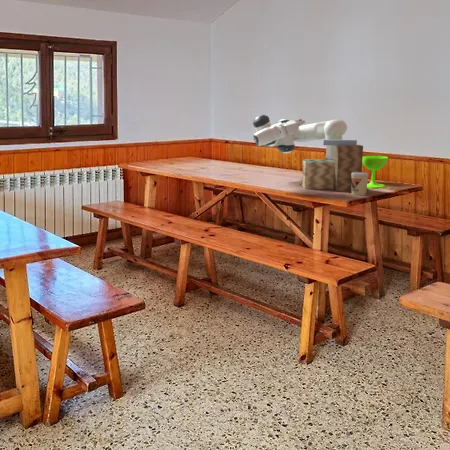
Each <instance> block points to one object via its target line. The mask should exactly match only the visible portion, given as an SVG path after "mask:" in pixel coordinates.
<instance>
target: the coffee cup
mask: <svg viewBox="0 0 450 450" xmlns="http://www.w3.org/2000/svg"><path fill="white" fill-rule="evenodd" d="M351 175H352V176H351V182H352V191H351V195H352V194H353V196H366V195H367V191H368V188H367V183H368V182H369V181H368V180H369V173H368V172H364V171H362V172H352V174H351Z"/></svg>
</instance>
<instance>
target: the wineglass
mask: <svg viewBox="0 0 450 450" xmlns="http://www.w3.org/2000/svg"><path fill="white" fill-rule="evenodd" d="M388 161H389V157H388V156H384V155H363V159H362V166H364V167H365V168H366V169H367V170H370V171H371V181H370V182H369V183H368V182H367V189H370V188H371V190H376V189H378V190H380V189H379V188H383V189H386V188H387V185H386V184H382V183H377V182H376V171H379V170H381V169H383V168H384V167H385V166H386V164H387V163H388Z"/></svg>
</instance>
